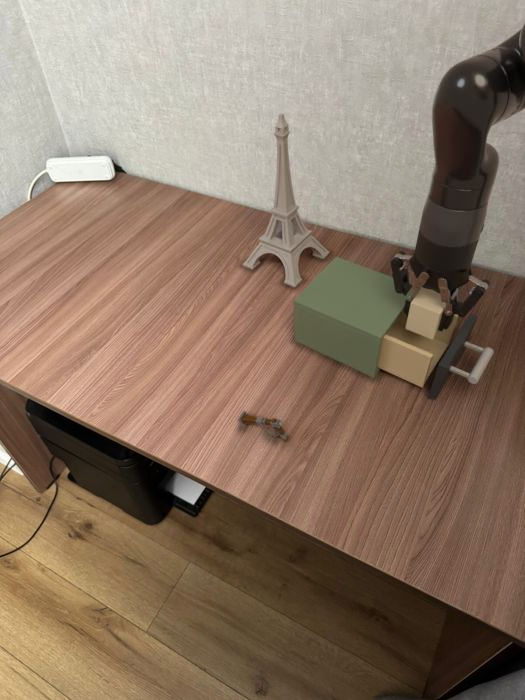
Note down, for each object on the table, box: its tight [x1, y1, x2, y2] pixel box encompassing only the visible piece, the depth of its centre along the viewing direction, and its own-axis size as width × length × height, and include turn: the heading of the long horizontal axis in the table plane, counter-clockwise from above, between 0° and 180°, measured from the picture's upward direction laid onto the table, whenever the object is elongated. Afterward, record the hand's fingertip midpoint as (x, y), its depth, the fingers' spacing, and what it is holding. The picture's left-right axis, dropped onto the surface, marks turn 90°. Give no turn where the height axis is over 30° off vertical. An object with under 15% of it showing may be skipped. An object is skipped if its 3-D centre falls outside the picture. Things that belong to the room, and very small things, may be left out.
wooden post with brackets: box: [237, 410, 289, 442], centre depth 74 cm, size 2×8×4 cm, turn 60°
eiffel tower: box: [242, 112, 331, 288], centre depth 92 cm, size 13×13×30 cm
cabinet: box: [293, 256, 414, 379], centre depth 83 cm, size 16×14×10 cm
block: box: [405, 287, 444, 340], centre depth 73 cm, size 4×4×6 cm
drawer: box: [378, 311, 495, 401], centre depth 78 cm, size 19×13×8 cm, turn 54°
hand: (426, 321), depth 75 cm, fingers closed on block, 4 cm apart
